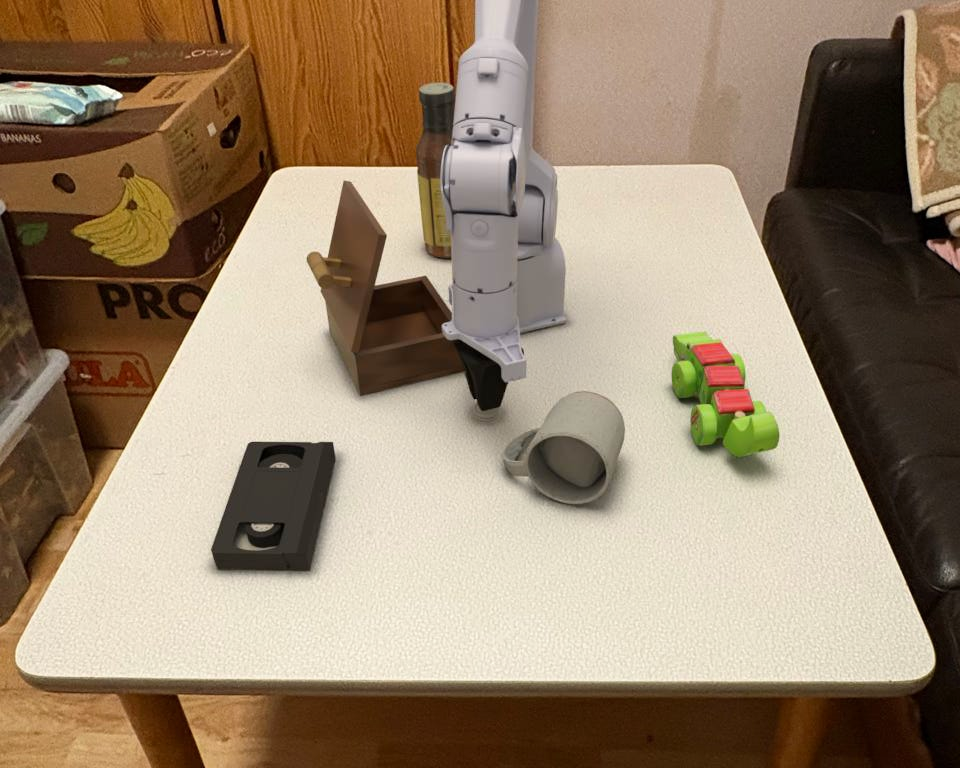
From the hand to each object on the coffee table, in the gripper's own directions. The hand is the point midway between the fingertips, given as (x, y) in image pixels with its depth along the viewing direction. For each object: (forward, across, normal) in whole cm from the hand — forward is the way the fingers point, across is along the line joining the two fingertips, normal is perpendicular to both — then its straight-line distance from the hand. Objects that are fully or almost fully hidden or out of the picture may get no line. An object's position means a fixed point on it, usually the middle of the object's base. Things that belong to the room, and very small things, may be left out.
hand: (486, 401), depth 89 cm
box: (+2, -14, -5) cm, 15 cm away
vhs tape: (+2, +6, -22) cm, 23 cm away
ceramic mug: (+2, +11, +3) cm, 12 cm away
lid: (-9, -14, -8) cm, 19 cm away
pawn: (+2, 0, 0) cm, 2 cm away
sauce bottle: (+2, -34, +8) cm, 35 cm away
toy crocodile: (+2, +8, +21) cm, 23 cm away
